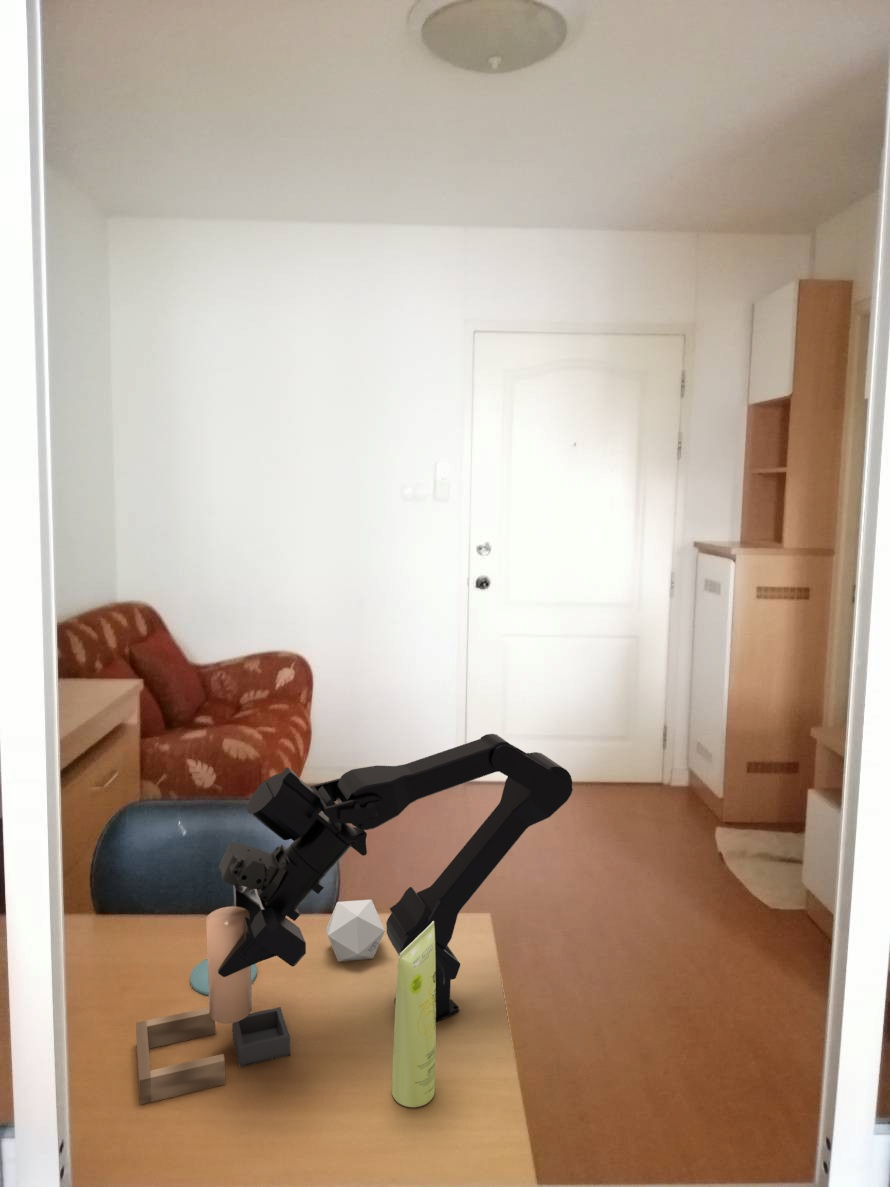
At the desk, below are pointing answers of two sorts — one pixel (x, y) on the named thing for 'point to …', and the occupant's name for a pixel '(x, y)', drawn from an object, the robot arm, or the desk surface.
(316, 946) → the desk surface
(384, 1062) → the desk surface
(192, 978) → the pad
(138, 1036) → the channel
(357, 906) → the die
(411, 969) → the tube
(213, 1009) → the canister
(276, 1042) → the tray
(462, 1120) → the desk surface
